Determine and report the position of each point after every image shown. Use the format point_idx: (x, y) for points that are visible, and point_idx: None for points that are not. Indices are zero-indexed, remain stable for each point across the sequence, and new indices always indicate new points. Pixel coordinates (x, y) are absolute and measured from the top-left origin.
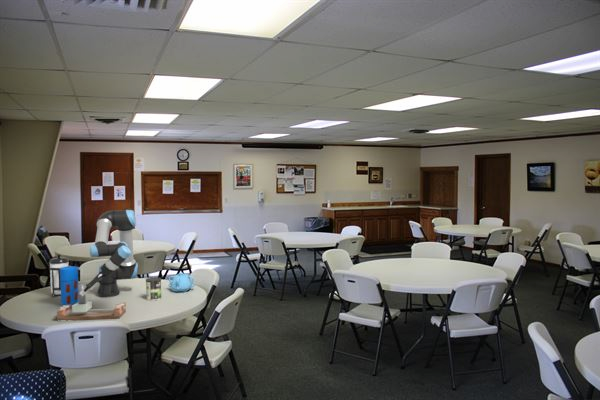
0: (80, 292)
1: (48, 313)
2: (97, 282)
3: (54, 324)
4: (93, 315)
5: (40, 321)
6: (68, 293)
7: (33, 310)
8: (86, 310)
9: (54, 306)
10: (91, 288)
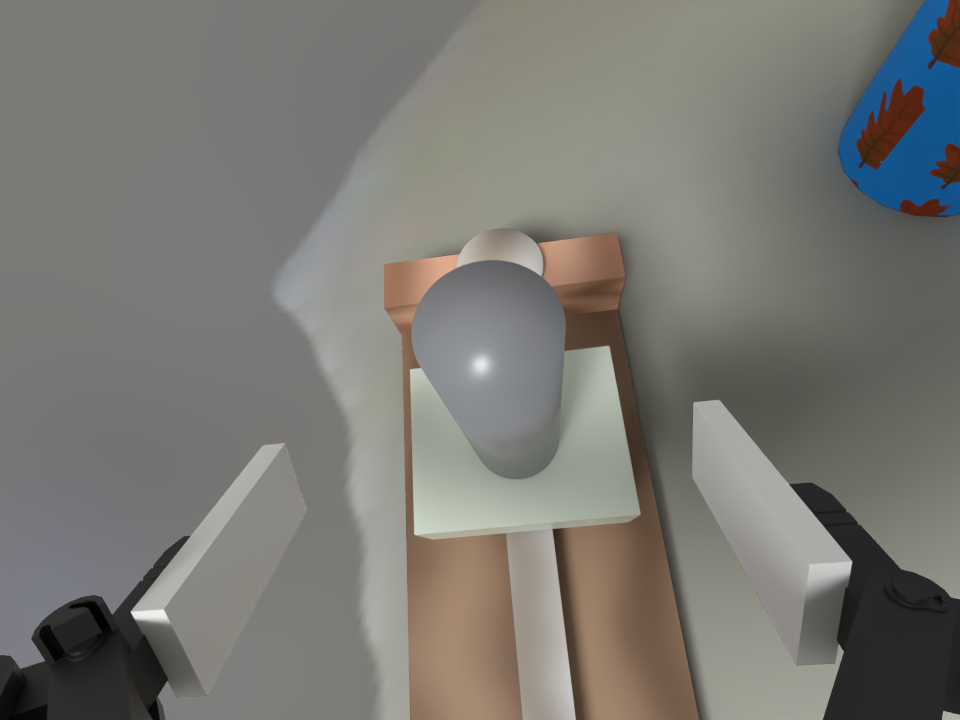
0: (250, 466)
1: (619, 140)
2: (799, 642)
3: (324, 332)
4: (445, 626)
5: (415, 196)
6: (932, 70)
7: (689, 11)
8: (442, 537)
9: (822, 77)
10: (706, 480)
